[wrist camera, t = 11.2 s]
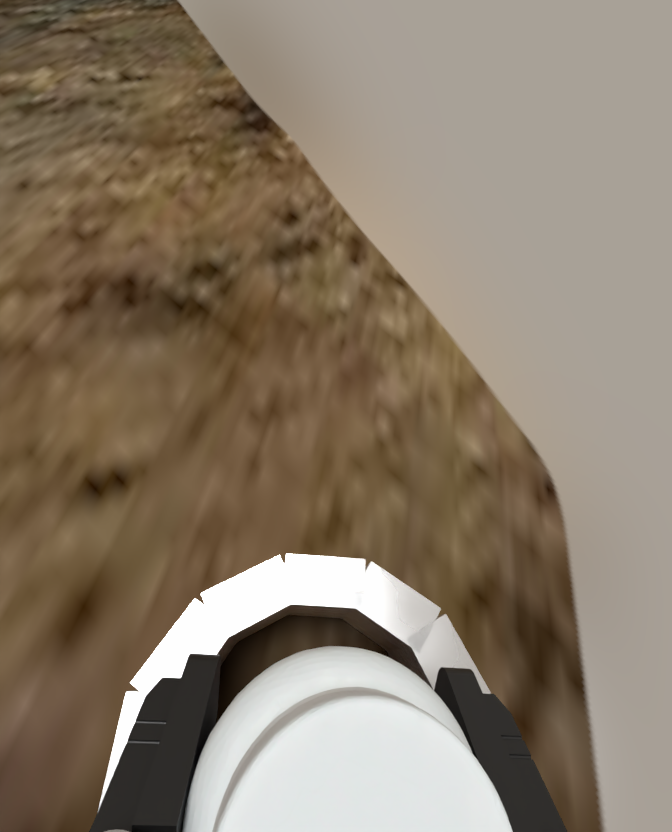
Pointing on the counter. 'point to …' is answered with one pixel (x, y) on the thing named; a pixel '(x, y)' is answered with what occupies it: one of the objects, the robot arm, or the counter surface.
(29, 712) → the counter surface
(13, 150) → the counter surface
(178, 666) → the ring collar
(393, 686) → the pill bottle
